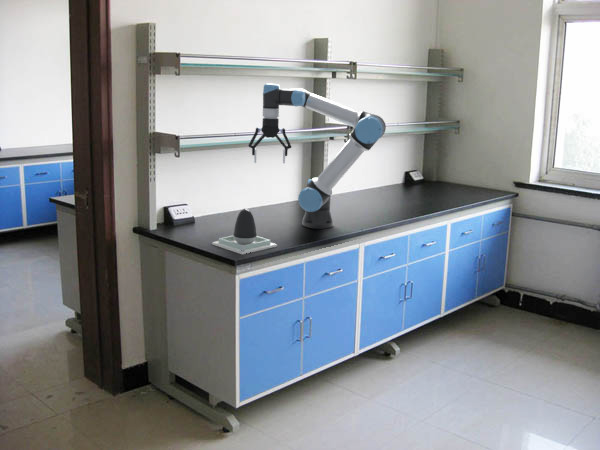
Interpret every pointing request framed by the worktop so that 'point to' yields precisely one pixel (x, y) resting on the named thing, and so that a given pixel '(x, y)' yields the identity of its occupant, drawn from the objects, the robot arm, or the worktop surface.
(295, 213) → the worktop surface
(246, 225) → the dark grey rounded dome
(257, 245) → the square tray
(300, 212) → the worktop surface
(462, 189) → the worktop surface
